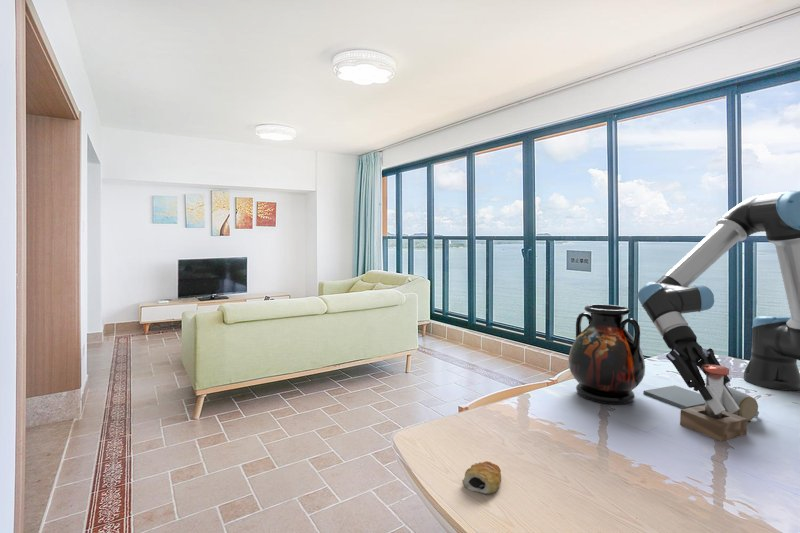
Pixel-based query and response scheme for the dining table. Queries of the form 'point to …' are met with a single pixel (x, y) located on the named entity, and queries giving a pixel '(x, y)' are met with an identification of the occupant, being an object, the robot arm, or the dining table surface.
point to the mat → (677, 396)
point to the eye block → (713, 423)
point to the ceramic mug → (744, 404)
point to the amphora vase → (606, 355)
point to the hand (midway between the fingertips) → (727, 411)
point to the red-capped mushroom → (714, 385)
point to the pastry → (482, 478)
